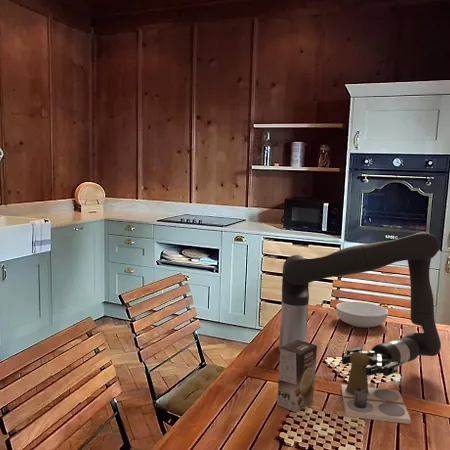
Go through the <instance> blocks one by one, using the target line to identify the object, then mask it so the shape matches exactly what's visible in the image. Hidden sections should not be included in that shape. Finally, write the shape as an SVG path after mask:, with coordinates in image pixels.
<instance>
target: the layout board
mask: <svg viewBox="0 0 450 450" xmlns="http://www.w3.org/2000/svg"><path fill="white" fill-rule="evenodd" d="M340 387H341V394H342V402H343V408H344V415H345V417H349V418H357V419H363V420H364V419H365V420H375V421H382V422H391V423H399V424H406V425H411V422H412V421H411V420H412V419H411V416H410V415H409V412H408V410H407V407H406V404H405V401H404V400H403V396H402V395H401V393H400V390H396V389H390V388H389V389H388V388H387V389H386V388H379V387H369V386H368V394H367V407H366V408H363V409H362V408H357V407H355V406H354V398H355V395H352V394H350V393H348V392H347V390H346V389H347V384H342V383H341V386H340Z"/></svg>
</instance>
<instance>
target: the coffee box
mask: <svg viewBox="0 0 450 450" xmlns="http://www.w3.org/2000/svg"><path fill="white" fill-rule="evenodd" d="M317 350H318V345H317V344H314V343H310V342H308V341H306V342H303V341H300V340H297V341H294V342H292V343H290V344H288V345H286V346H283V347H281V348H280V351H279V363H278V364H279V366H278V367H279V368H278V380H277V383H278V384H277V397H276V400H277V401H276V406H278V407H282V408H284V409H286V410H289V411H292V412H294V413H298V412H299V411H301V410H302V409H304V408H305V407H307V406H308V405H309V404H311V403H312V402H314V398H315V397H314V395H315V381H316V368H317V367H316V366H317V365H316V364H317V352H318V351H317Z"/></svg>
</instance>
